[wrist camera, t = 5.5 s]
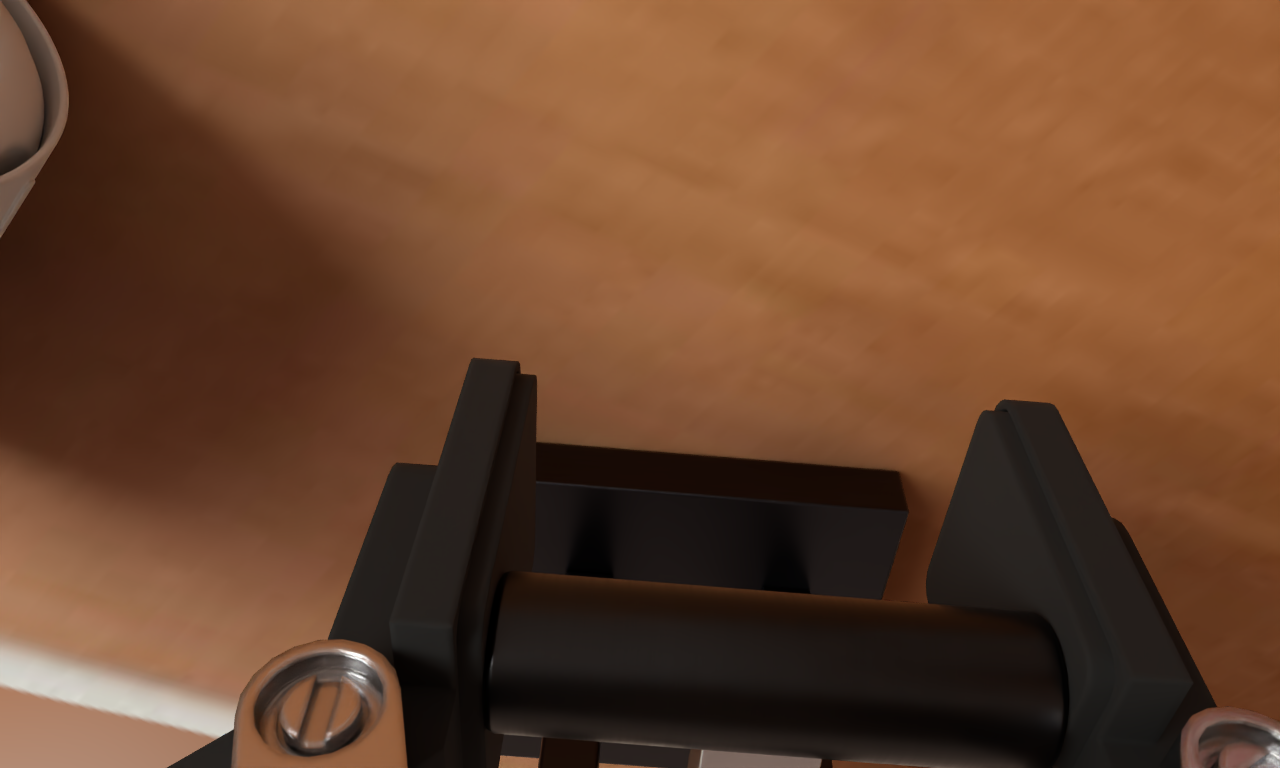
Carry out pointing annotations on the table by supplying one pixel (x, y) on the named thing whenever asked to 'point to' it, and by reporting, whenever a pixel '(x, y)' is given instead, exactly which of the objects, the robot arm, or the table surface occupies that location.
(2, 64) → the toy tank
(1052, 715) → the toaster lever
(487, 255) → the table surface
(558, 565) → the black upright stand
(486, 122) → the table surface
